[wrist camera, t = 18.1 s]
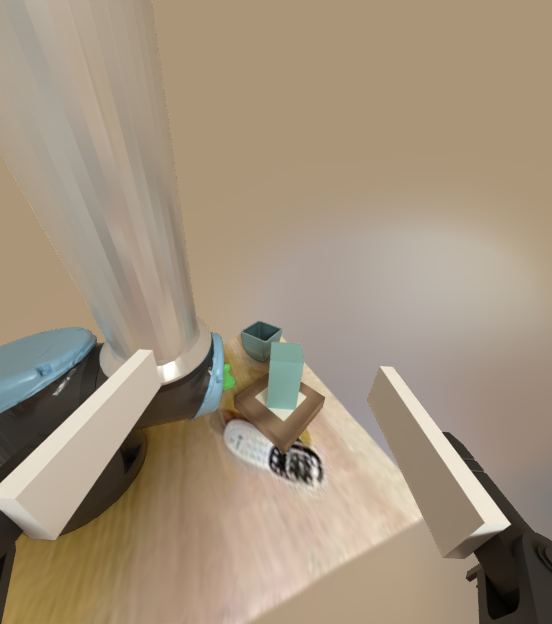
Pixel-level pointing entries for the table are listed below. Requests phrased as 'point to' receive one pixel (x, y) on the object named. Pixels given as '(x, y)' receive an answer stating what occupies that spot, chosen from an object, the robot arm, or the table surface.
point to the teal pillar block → (284, 375)
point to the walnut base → (279, 413)
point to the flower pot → (260, 339)
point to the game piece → (227, 377)
